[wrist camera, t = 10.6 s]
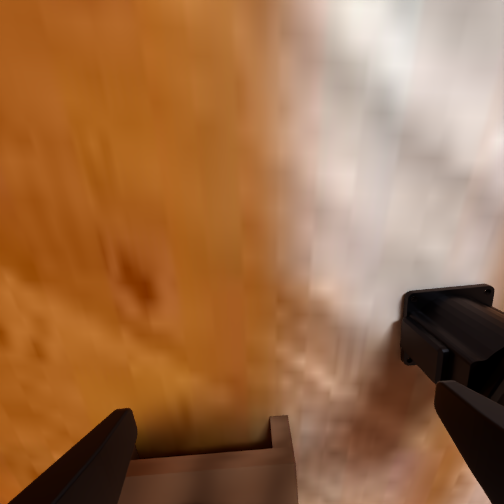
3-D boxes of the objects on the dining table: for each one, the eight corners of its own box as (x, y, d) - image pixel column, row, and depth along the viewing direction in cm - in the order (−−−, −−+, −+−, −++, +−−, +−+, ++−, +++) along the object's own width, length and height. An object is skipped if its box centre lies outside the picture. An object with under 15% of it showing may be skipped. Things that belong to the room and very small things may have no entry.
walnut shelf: (287, 415, 23) (295, 462, 19) (296, 520, 26) (304, 579, 22) (113, 430, 23) (85, 480, 19) (145, 532, 26) (127, 591, 23)
